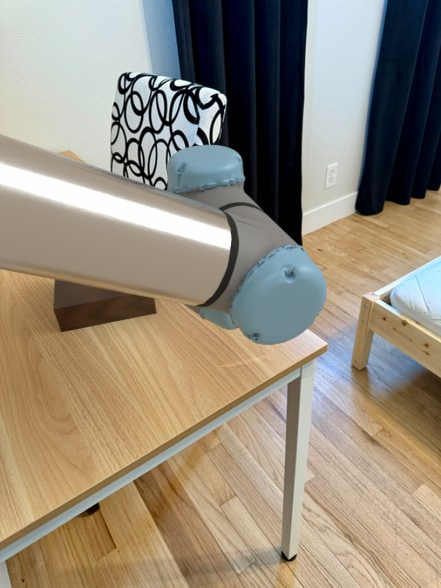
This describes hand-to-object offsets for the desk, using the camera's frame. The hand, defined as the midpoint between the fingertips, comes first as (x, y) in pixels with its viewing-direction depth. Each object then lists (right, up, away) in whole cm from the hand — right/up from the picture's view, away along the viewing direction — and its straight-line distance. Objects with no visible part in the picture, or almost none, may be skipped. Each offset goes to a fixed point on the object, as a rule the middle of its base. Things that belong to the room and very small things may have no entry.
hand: (68, 202), depth 69 cm
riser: (+4, -15, +9) cm, 18 cm away
